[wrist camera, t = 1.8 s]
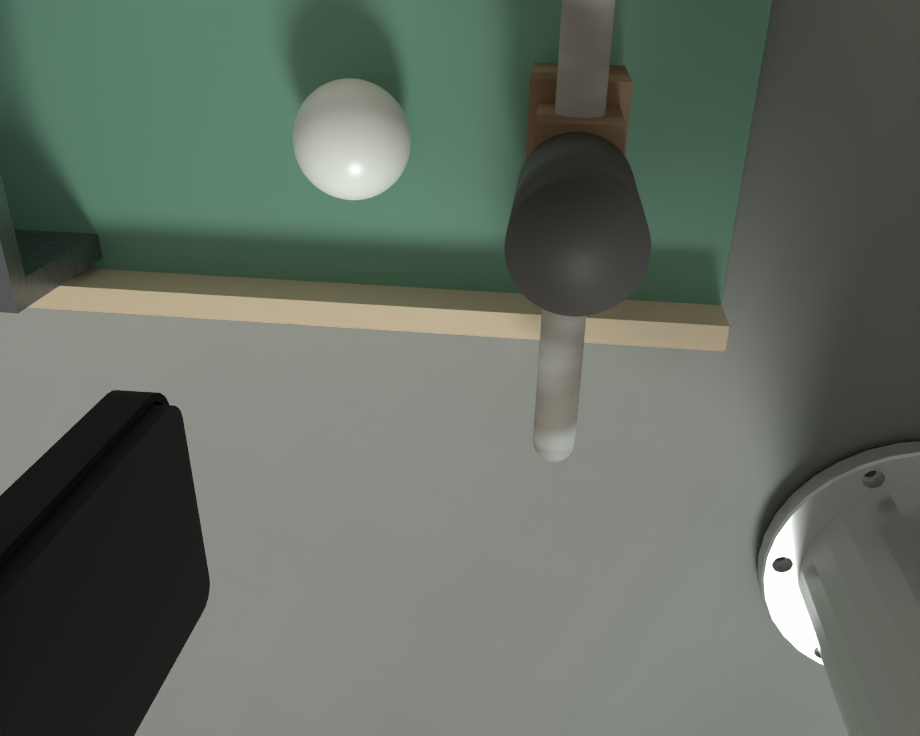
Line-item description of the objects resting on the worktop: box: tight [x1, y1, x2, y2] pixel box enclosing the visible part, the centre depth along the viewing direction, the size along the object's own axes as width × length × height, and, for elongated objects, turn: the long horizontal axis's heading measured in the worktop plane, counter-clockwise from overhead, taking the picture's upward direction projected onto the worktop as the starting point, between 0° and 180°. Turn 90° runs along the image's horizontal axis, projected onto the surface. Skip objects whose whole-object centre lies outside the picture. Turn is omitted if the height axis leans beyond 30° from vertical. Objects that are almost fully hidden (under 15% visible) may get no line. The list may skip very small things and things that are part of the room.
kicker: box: [504, 0, 651, 462], centre depth 24 cm, size 3×19×12 cm, turn 179°
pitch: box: [0, 0, 773, 352], centre depth 30 cm, size 30×14×3 cm, turn 89°
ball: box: [292, 78, 411, 200], centre depth 28 cm, size 4×4×4 cm
